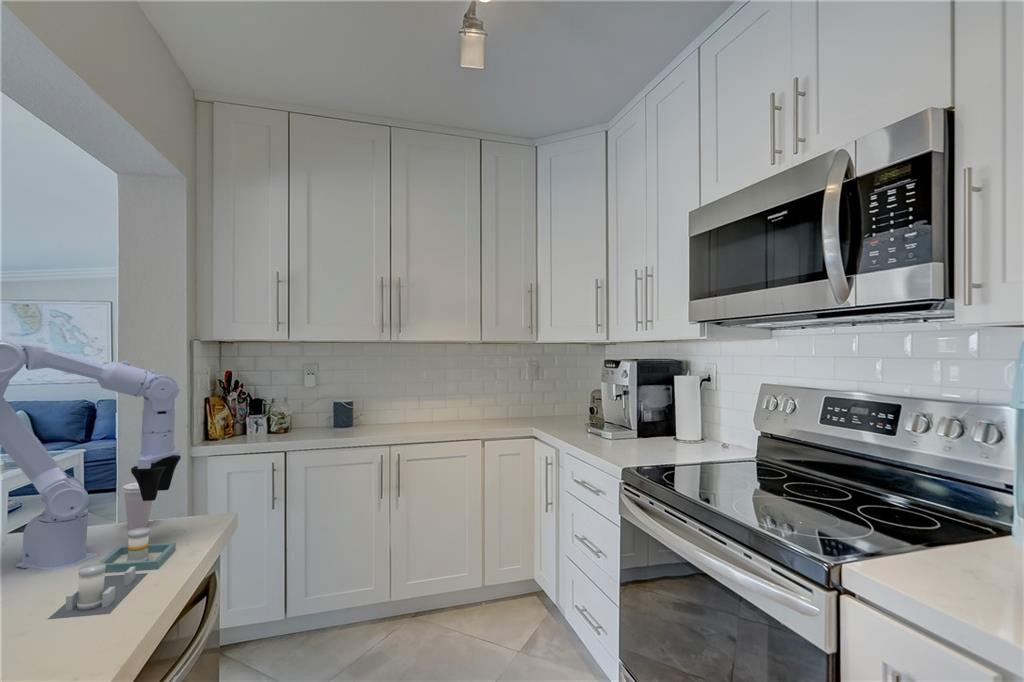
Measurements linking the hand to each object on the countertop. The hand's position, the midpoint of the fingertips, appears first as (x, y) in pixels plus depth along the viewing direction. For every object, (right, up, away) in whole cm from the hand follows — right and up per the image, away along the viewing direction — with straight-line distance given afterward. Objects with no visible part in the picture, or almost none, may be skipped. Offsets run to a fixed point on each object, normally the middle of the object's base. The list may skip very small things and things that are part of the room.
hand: (156, 495), depth 110 cm
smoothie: (-11, -10, +10) cm, 18 cm away
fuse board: (+7, -10, -23) cm, 27 cm away
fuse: (+8, -10, -27) cm, 30 cm away
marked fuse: (+3, -10, -10) cm, 15 cm away
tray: (+3, -10, -10) cm, 15 cm away
